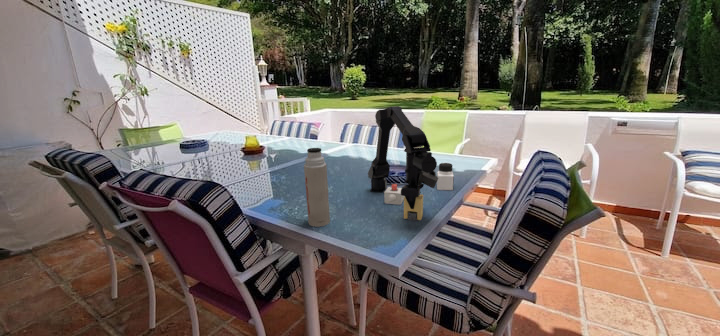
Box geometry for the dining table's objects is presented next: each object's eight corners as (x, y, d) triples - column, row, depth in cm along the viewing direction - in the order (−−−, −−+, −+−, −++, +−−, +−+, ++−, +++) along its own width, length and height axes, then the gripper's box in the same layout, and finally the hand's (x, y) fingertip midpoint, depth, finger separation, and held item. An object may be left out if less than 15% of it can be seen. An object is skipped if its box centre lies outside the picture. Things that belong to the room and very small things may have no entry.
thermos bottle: (307, 227, 113) (301, 151, 106) (309, 218, 121) (303, 147, 113) (329, 226, 114) (325, 150, 106) (330, 217, 121) (325, 145, 114)
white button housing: (384, 203, 133) (384, 192, 131) (388, 197, 139) (388, 186, 138) (400, 205, 130) (400, 193, 129) (404, 198, 137) (404, 188, 136)
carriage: (403, 218, 117) (403, 197, 115) (406, 213, 122) (406, 193, 120) (421, 220, 115) (421, 199, 113) (422, 214, 120) (423, 194, 118)
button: (391, 190, 133) (390, 185, 132) (392, 188, 135) (392, 183, 135) (396, 190, 132) (396, 186, 132) (397, 188, 134) (397, 184, 134)
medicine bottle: (453, 190, 145) (454, 165, 142) (437, 190, 147) (438, 165, 144) (451, 185, 152) (453, 161, 149) (436, 185, 154) (437, 161, 150)
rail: (408, 220, 116) (408, 212, 116) (414, 204, 131) (414, 197, 130) (416, 220, 115) (416, 213, 115) (422, 204, 130) (422, 198, 129)
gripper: (434, 174, 102) (432, 218, 106) (439, 160, 119) (437, 199, 123) (400, 172, 106) (400, 215, 110) (410, 159, 123) (409, 196, 127)
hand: (413, 206), depth 117 cm, fingers closed on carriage, 5 cm apart
